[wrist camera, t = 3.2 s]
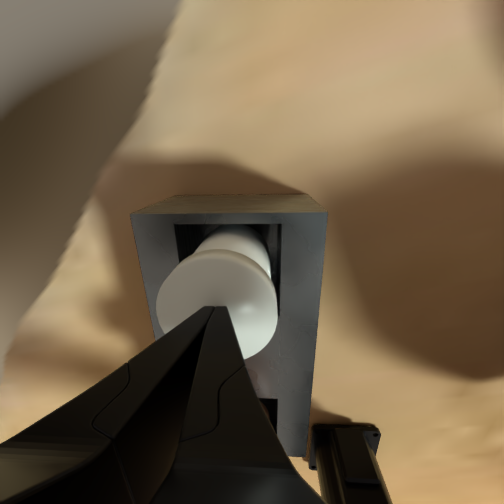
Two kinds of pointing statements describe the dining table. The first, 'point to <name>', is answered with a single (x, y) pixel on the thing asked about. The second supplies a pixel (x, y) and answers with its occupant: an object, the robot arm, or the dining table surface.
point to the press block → (282, 275)
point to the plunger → (225, 285)
